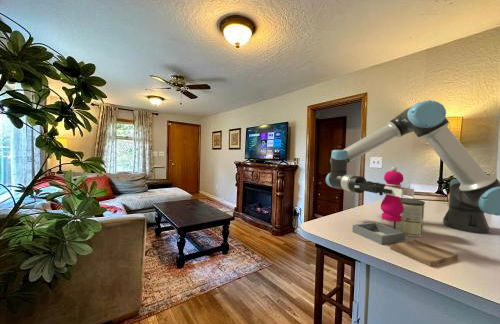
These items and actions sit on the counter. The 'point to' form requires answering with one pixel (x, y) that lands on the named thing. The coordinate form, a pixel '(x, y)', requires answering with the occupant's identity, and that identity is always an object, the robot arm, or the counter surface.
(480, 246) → the counter surface
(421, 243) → the board
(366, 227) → the holder
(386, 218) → the pepper mill
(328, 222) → the counter surface
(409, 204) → the coffee can
